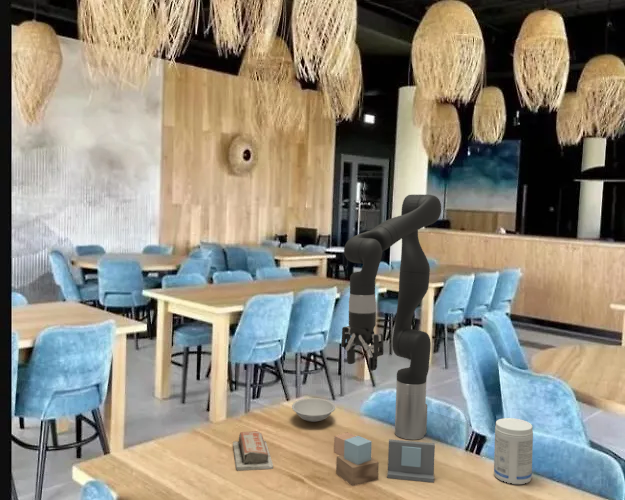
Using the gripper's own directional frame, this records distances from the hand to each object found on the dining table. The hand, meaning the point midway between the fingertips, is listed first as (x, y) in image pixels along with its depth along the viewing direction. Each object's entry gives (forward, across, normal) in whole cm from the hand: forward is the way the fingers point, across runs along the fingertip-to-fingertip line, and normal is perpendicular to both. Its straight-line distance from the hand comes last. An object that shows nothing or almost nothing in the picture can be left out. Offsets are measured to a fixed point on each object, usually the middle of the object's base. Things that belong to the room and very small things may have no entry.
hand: (361, 366), depth 169 cm
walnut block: (+26, -8, +10) cm, 29 cm away
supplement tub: (+27, -34, -23) cm, 49 cm away
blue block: (+21, -8, +9) cm, 25 cm away
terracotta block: (+26, +5, +1) cm, 27 cm away
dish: (+27, +30, -8) cm, 41 cm away
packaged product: (+26, +19, +24) cm, 40 cm away
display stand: (+26, -16, -2) cm, 31 cm away
